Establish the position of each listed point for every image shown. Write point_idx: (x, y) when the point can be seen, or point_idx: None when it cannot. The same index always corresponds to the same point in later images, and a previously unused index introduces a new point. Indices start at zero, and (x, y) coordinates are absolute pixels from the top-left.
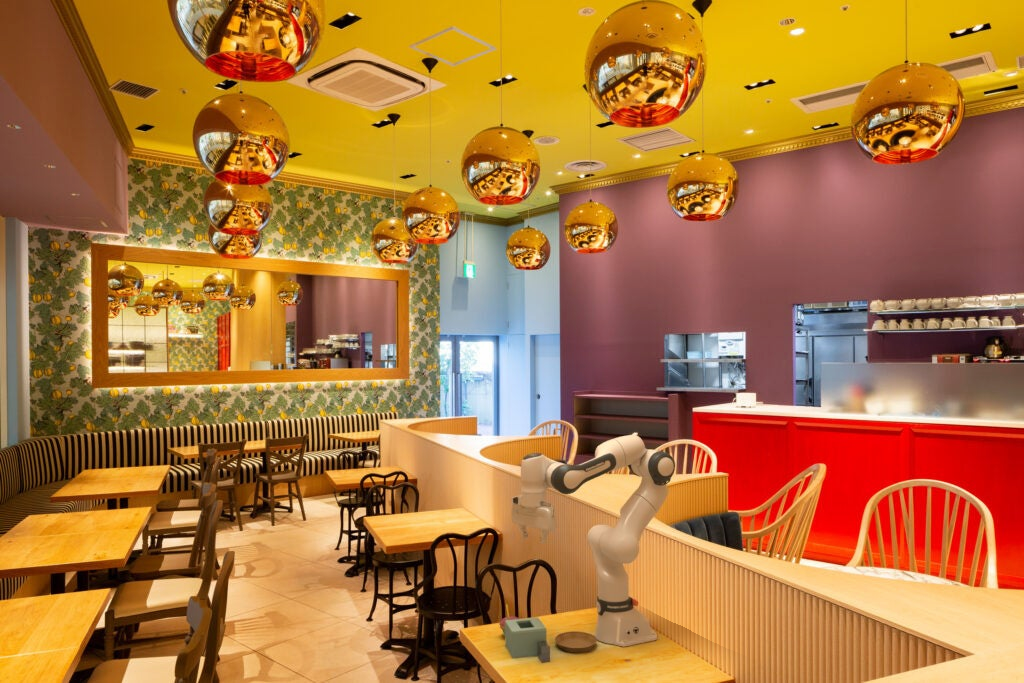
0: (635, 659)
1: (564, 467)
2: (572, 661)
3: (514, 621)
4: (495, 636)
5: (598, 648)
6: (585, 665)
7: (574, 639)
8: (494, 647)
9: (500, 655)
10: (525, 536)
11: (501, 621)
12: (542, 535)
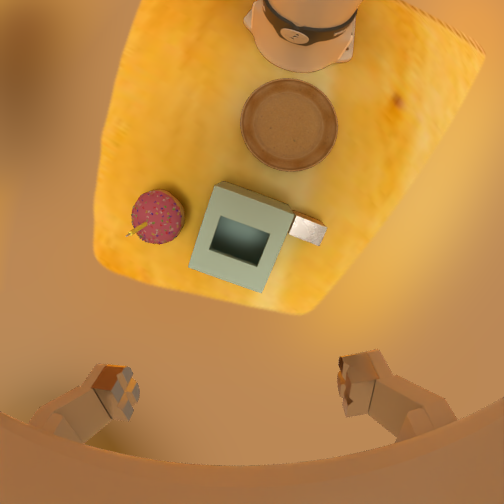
0: (402, 89)
1: None
2: (345, 184)
3: (206, 252)
4: None
5: None
6: (373, 177)
7: (260, 106)
8: None
9: None
10: (133, 394)
11: (146, 239)
12: (392, 427)
